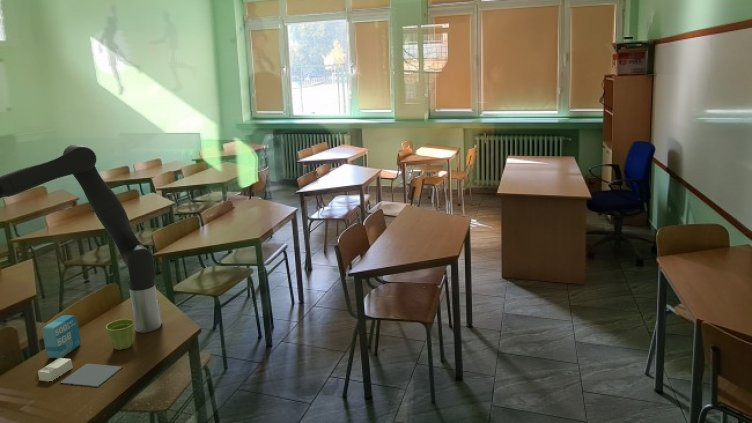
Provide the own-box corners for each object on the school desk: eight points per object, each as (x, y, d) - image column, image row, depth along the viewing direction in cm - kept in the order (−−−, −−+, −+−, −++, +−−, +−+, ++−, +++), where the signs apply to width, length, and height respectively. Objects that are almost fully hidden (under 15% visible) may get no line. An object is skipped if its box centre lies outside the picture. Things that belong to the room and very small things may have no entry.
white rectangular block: (61, 366, 190) (59, 357, 189) (72, 368, 189) (71, 359, 188) (39, 381, 181) (37, 371, 181) (51, 382, 180) (49, 372, 179)
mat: (86, 364, 190) (86, 363, 190) (122, 367, 187) (122, 366, 187) (60, 383, 179) (60, 382, 179) (97, 387, 176) (97, 386, 176)
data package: (58, 360, 194) (52, 328, 191) (47, 359, 195) (41, 328, 192) (81, 343, 206) (76, 314, 203) (70, 343, 206) (65, 313, 203)
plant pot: (122, 338, 208) (119, 317, 206) (143, 341, 205) (139, 320, 203) (103, 350, 200) (99, 328, 198) (124, 353, 197) (120, 331, 195)
